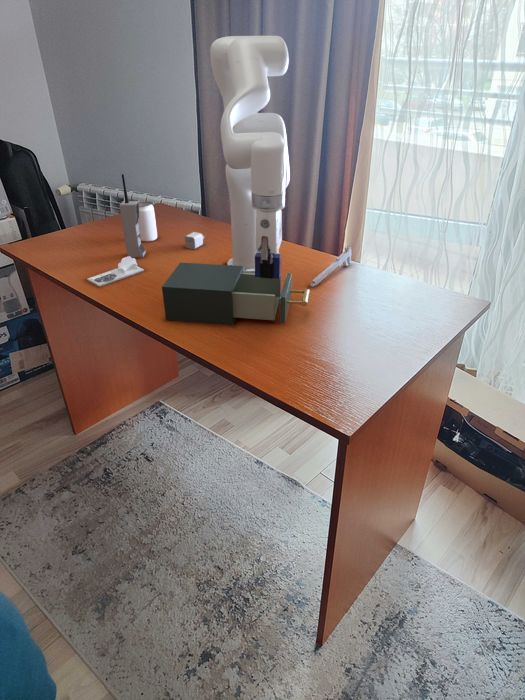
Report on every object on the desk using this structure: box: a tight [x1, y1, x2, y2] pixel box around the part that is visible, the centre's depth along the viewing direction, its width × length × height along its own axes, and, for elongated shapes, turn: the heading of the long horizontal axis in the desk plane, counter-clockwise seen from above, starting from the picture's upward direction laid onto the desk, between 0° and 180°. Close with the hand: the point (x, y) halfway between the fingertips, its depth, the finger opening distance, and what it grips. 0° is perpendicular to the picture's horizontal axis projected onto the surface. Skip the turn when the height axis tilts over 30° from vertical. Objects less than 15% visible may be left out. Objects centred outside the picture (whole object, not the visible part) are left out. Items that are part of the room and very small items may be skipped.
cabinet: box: [161, 262, 244, 326], centre depth 125 cm, size 17×15×9 cm
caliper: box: [309, 245, 353, 288], centre depth 142 cm, size 20×1×6 cm, turn 141°
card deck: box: [255, 253, 282, 279], centre depth 120 cm, size 6×2×5 cm, turn 81°
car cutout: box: [86, 255, 145, 288], centre depth 144 cm, size 15×7×4 cm, turn 137°
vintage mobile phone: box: [118, 173, 147, 259], centre depth 151 cm, size 4×5×25 cm
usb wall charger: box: [184, 231, 206, 250], centre depth 164 cm, size 4×7×4 cm, turn 150°
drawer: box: [232, 272, 311, 325], centre depth 123 cm, size 20×14×7 cm, turn 81°
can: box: [138, 200, 158, 243], centre depth 167 cm, size 6×6×12 cm
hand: (267, 274), depth 121 cm, fingers closed on card deck, 2 cm apart
